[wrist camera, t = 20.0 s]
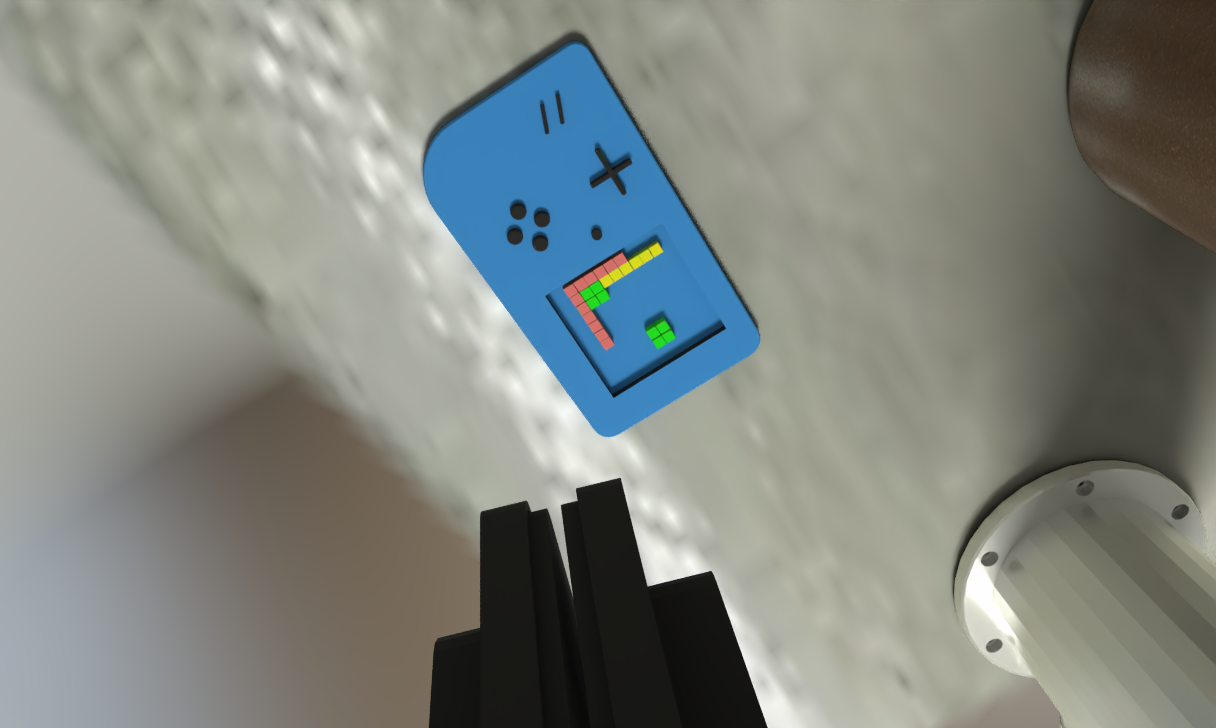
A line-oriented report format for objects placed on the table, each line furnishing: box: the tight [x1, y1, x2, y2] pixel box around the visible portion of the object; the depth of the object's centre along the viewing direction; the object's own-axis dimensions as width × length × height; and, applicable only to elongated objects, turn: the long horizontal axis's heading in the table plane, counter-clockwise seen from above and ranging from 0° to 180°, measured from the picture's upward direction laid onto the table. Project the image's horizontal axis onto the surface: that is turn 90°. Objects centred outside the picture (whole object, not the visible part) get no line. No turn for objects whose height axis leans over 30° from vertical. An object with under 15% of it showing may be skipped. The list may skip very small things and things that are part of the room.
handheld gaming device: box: [423, 41, 760, 437], centre depth 40 cm, size 8×1×15 cm
